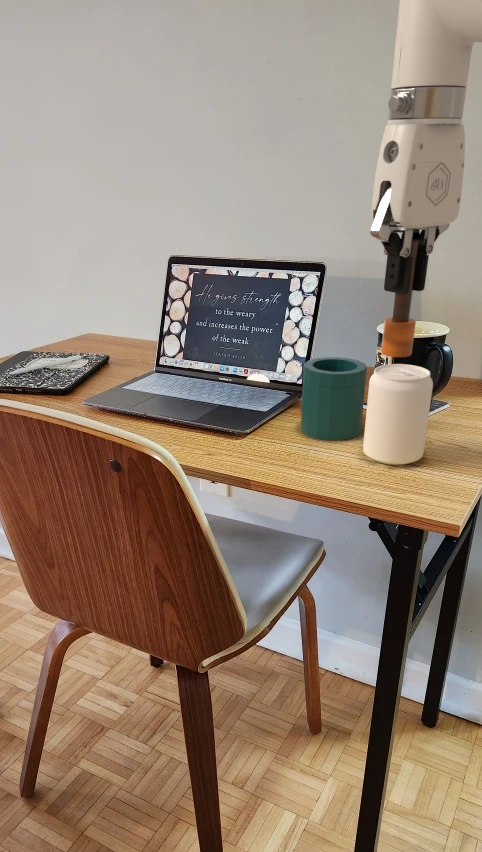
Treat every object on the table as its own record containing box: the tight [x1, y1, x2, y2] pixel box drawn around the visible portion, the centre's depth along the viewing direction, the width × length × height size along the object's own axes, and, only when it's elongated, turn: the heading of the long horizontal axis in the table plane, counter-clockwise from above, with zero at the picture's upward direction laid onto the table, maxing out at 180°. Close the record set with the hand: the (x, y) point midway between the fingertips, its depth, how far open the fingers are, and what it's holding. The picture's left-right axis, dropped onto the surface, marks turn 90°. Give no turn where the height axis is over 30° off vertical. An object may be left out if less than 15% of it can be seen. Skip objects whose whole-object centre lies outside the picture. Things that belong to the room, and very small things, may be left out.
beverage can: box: [362, 363, 434, 466], centre depth 93 cm, size 8×8×12 cm
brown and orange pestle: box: [380, 239, 419, 358], centre depth 81 cm, size 4×4×13 cm
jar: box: [300, 356, 368, 441], centre depth 102 cm, size 9×9×10 cm
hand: (403, 289), depth 80 cm, fingers closed on brown and orange pestle, 2 cm apart
